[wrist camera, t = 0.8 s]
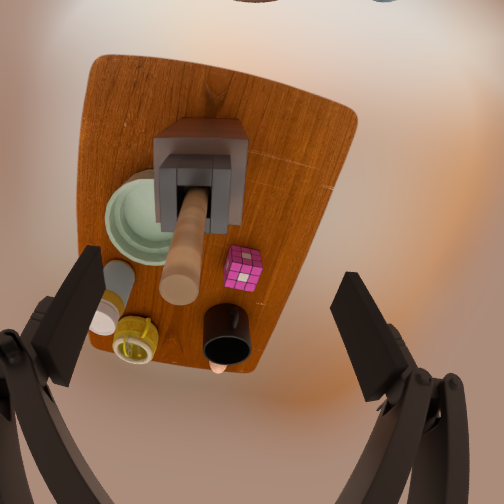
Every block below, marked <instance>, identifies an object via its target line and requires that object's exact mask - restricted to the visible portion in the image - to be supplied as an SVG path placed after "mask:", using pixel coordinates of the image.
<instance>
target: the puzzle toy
mask: <svg viewBox="0 0 504 504" xmlns="http://www.w3.org/2000/svg"><path fill="white" fill-rule="evenodd" d="M262 270H263V265H262V261H261V256H260V252H259V251H257V250H252V249H248V248H243V247H239V246H234V245H231V246H230V250H229V253H228V256H227V259H226V262H225V266H224V286H225V287H230V288H235V289H241V290H246V291H252V292H253V291H254V289H255V287H256V284H257V282H258V280H259V277H260V275H261V272H262Z"/></svg>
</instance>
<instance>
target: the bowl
mask: <svg viewBox="0 0 504 504" xmlns="http://www.w3.org/2000/svg"><path fill="white" fill-rule="evenodd" d="M105 224H106V230H107V233H108V235H109V237H110V239H111V241H112V243H113V244H114V246H115V247H116V248H117V249H118V250H119V251H120V252H121V253H122V254H123V255H125V256H126V257H128V258H129V259H131V260H133V261H135V262H138V263H141V264H145V265H158V266H160V265H164V264H165V261H166V258H167V254H168V250H169V247H170V243H171V240H172V237H173V233H174V232H161V223H156V216H155V198H154V170H144V171H141V172H138V173H136V174H133V175H132V176H131V177H130V178H128V179H127V180H126V181H125V182H123V184H122V185H121V186H120V187H119V188H118V189H117V190H116V191H115V192H114V193H113V195H112V197H111V199H110V200H109V202H108V204H107V208H106V213H105Z"/></svg>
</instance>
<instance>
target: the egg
mask: <svg viewBox="0 0 504 504" xmlns="http://www.w3.org/2000/svg"><path fill="white" fill-rule="evenodd" d="M226 366H227V365H219V364H216V363H213V362H211V361H210V367H211V369H212V370H213V371H214V372H215V373H222V372H223V371H224V370H225V368H226Z"/></svg>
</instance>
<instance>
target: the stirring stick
mask: <svg viewBox="0 0 504 504" xmlns="http://www.w3.org/2000/svg"><path fill="white" fill-rule="evenodd" d="M209 190H210V186H188V189H187V192H186V195H185V198H184V201H183V204H182V207H181V211H180V214H179V217H178V220H177V223H176V227H175V230H174V233H173V237H172V240H171V243H170V247H169V250H168V254H167V258H166V261H165V265H164V268H163V272H162V276H161V280H160V283H159V291H160V294H161V296H162V297H163V298H164V299H165V300H166V301H168V302H169V303H172V304H175V305H187V304H190V303H191V302H193V301H194V300H195V299H196V298H197V296H198V293H199V282H200V271H201V260H202V250H203V241H204V232H205V223H206V214H207V206H208V198H209Z"/></svg>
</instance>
